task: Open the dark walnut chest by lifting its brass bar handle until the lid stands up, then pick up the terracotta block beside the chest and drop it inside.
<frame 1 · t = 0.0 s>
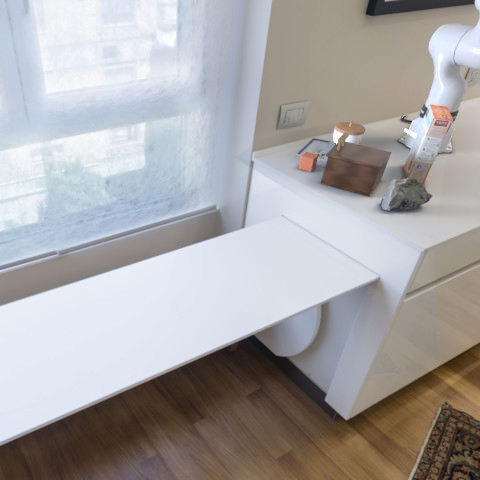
mineral rock: (402, 209, 133), on the table
lid: (360, 147, 138), point 11 cm above the table, hinge at 0.0°
block: (306, 168, 153), on the table
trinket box: (343, 148, 167), on the table
cracker box: (413, 176, 150), on the table
chest: (350, 182, 145), on the table
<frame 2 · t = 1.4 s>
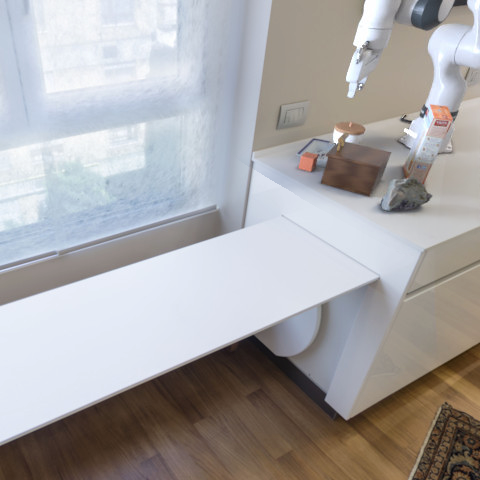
hand: (355, 93, 130), 26 cm above the table, tool pointing down, fingers open, 8 cm apart
nothing on the table moved.
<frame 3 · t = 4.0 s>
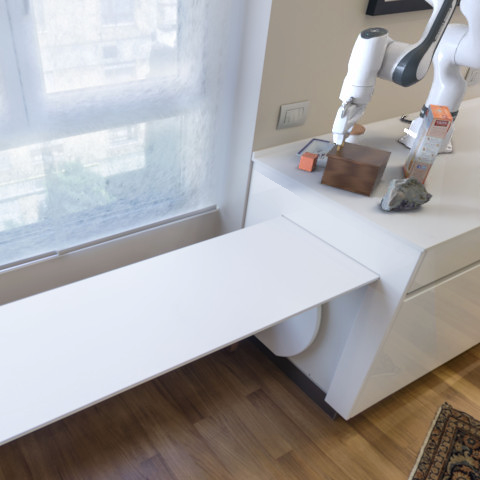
hand: (342, 140, 140), 12 cm above the table, tool pointing down, fingers closed on lid, 5 cm apart
lid: (360, 147, 138), point 11 cm above the table, hinge at -0.1°, touching gripper
everything else where it was.
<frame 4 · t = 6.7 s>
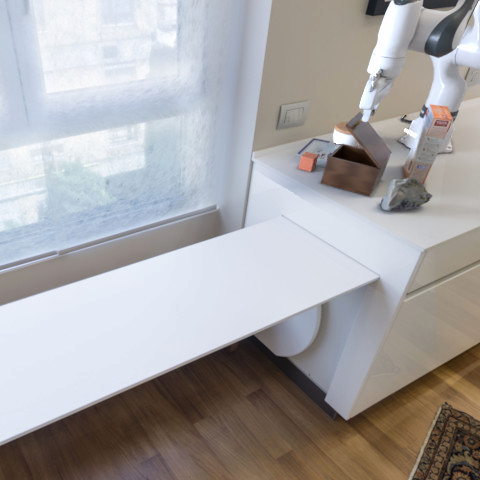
hand: (368, 117, 132), 20 cm above the table, tool pointing down, fingers closed on lid, 5 cm apart
lid: (375, 134, 133), point 16 cm above the table, hinge at 36.7°, touching gripper
everything else where it was.
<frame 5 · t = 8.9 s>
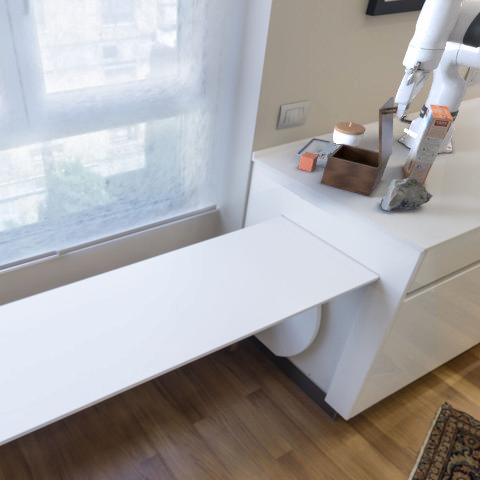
hand: (401, 113, 126), 23 cm above the table, tool pointing down, fingers closed on lid, 5 cm apart
lid: (394, 131, 130), point 18 cm above the table, hinge at 71.3°, touching gripper
everything else where it was.
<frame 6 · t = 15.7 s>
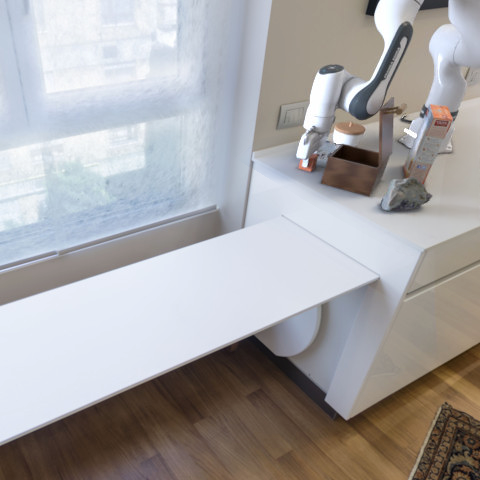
hand: (308, 163, 152), 2 cm above the table, tool pointing down, fingers closed on block, 4 cm apart
lid: (394, 131, 130), point 18 cm above the table, hinge at 71.8°
block: (306, 168, 153), on the table, touching gripper
everything else where it was.
when the fingers open (9 cm above the table, at t = 23.8 s): block drops 6 cm, resting on chest.
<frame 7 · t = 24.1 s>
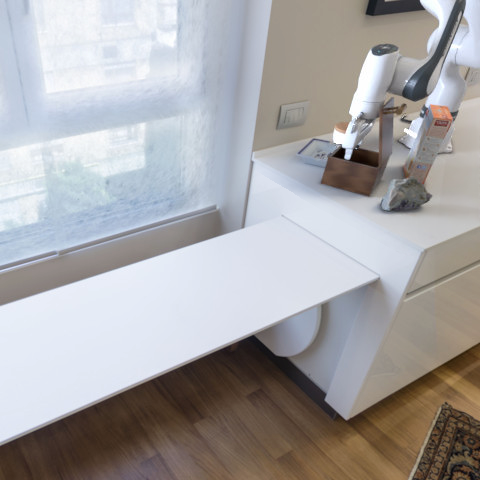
hand: (351, 154, 140), 9 cm above the table, tool pointing down, fingers open, 8 cm apart
block: (344, 177, 146), point 1 cm above the table, touching chest
everything else where it was.
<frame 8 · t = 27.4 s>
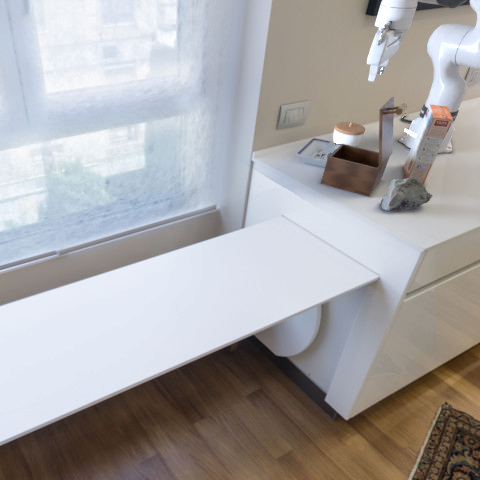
hand: (375, 77, 125), 31 cm above the table, tool pointing down, fingers open, 8 cm apart
nothing on the table moved.
at the end: lid at +72° (first picture: +0°); block inside the target area in the chest (2.5 cm from its centre), point 0.9 cm above the chest's base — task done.
